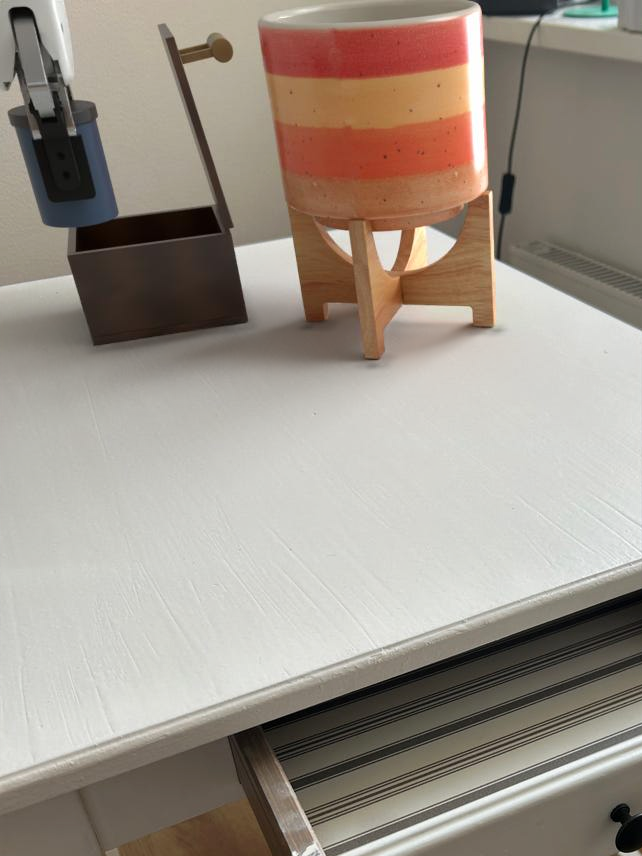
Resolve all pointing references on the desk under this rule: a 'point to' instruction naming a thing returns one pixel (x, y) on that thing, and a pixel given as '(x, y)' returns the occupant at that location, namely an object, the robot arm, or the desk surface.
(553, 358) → the desk surface
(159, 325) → the chest
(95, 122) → the canister
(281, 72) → the planter
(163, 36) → the lid
